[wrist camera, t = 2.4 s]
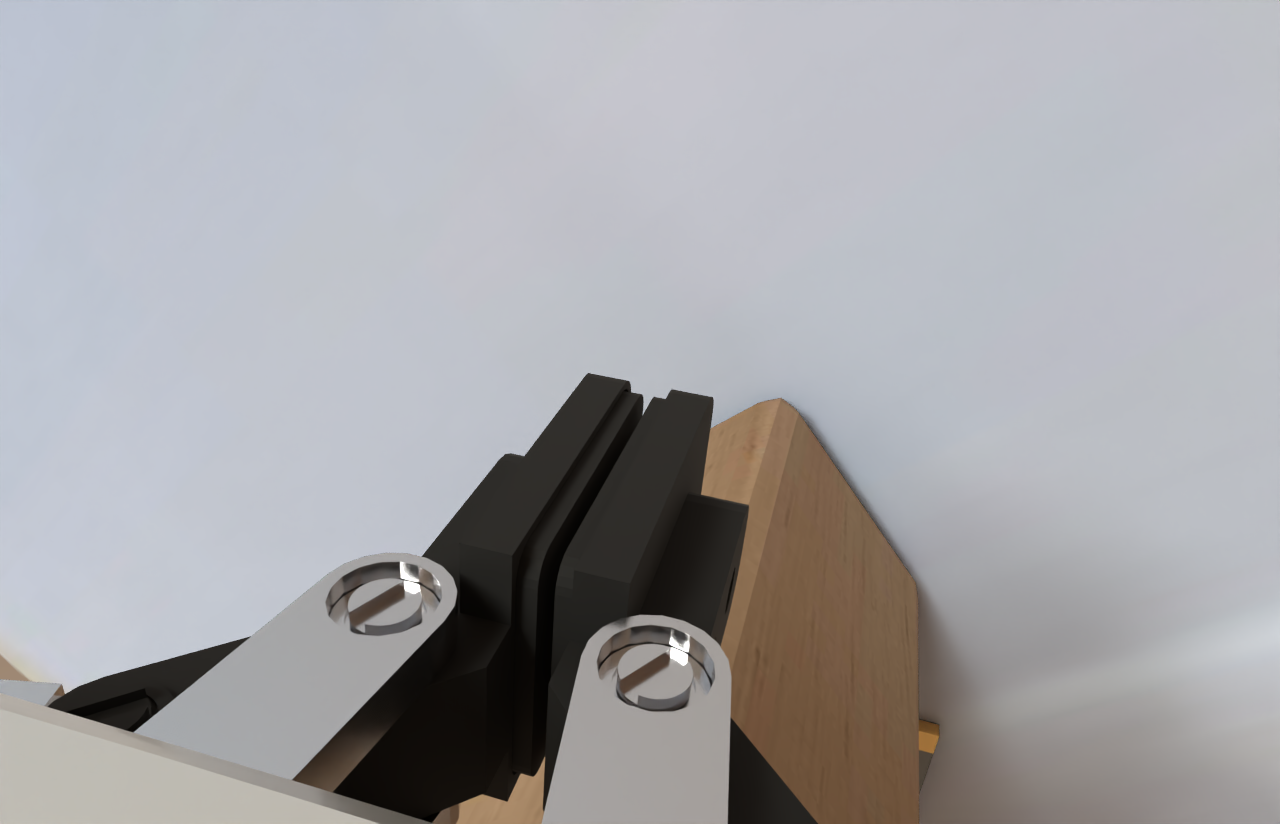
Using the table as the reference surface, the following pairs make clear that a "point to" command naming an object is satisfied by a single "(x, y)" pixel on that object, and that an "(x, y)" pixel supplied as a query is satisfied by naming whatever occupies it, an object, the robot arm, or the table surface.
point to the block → (804, 633)
